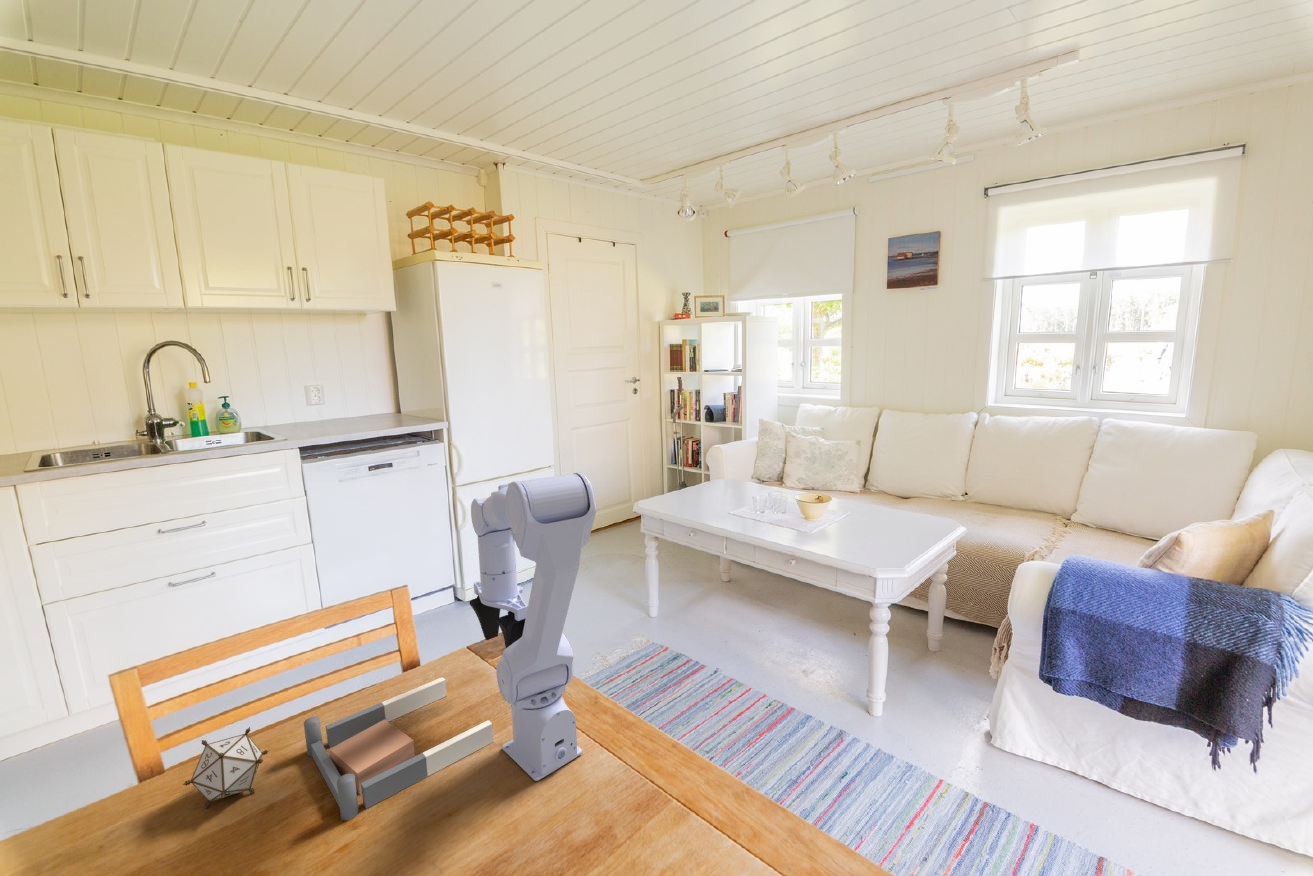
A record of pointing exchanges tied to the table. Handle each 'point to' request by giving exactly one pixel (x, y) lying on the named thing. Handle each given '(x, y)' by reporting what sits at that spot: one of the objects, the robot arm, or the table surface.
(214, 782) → the game die
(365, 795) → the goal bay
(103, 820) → the table surface
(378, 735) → the sliding block
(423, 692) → the lane walls
